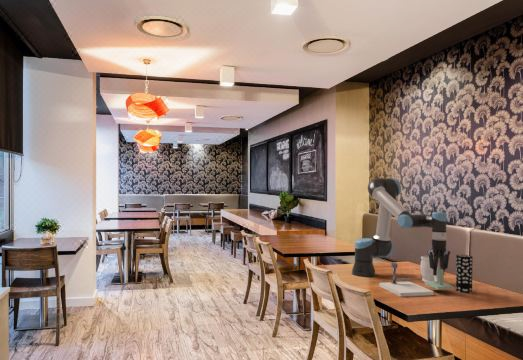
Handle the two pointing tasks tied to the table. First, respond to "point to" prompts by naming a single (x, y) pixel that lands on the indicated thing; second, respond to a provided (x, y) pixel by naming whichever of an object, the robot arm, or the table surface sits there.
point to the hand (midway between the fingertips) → (438, 281)
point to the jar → (426, 269)
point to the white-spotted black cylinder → (464, 273)
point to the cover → (439, 282)
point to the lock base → (406, 289)
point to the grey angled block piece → (395, 273)
